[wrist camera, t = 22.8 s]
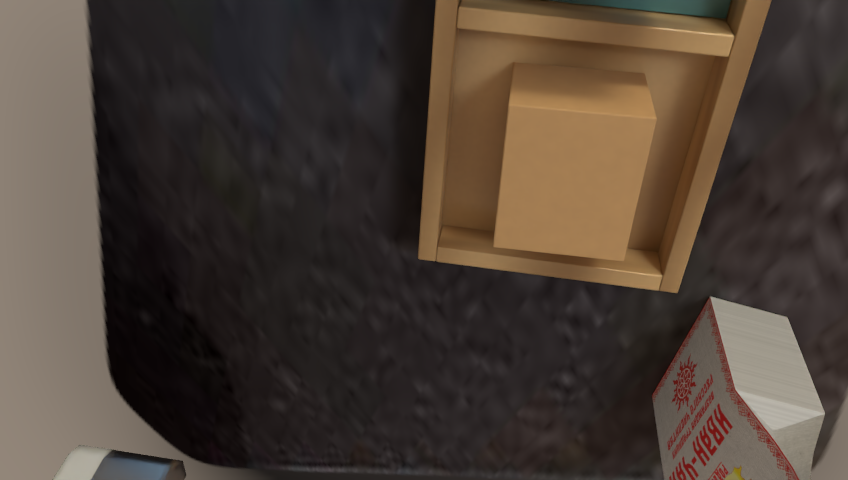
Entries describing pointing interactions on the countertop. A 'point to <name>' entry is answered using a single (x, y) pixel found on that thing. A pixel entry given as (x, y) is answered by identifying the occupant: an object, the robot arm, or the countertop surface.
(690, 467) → the white and red box
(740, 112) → the countertop surface
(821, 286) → the countertop surface
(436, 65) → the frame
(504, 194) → the light brown block
